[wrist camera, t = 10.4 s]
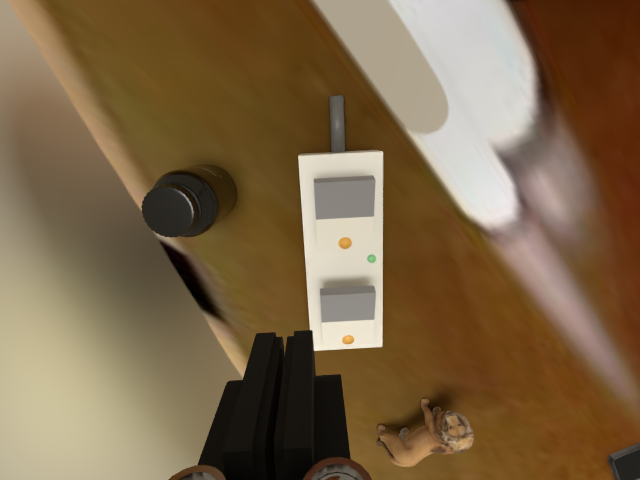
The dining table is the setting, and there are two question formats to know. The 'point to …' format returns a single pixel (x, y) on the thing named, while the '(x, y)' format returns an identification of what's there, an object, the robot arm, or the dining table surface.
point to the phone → (626, 463)
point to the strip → (341, 265)
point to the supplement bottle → (189, 201)
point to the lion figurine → (428, 437)
